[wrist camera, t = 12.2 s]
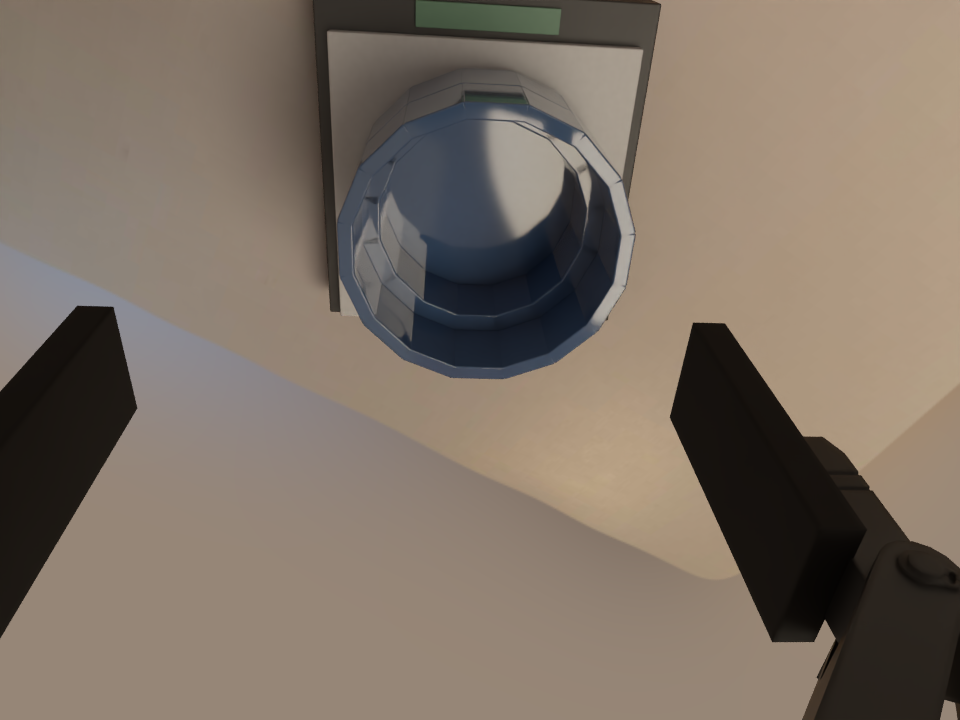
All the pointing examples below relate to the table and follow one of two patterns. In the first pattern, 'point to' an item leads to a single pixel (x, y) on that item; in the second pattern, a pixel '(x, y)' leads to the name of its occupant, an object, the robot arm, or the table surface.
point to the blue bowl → (483, 227)
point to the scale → (480, 45)
